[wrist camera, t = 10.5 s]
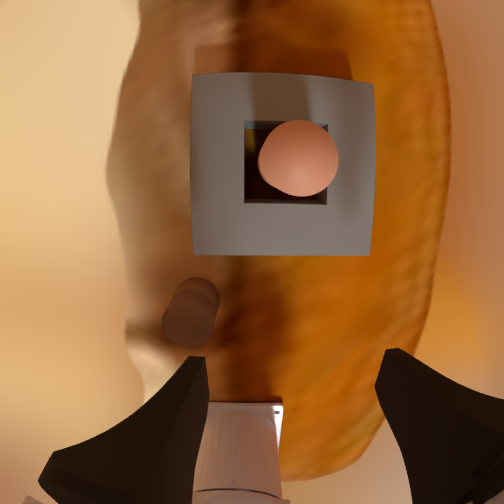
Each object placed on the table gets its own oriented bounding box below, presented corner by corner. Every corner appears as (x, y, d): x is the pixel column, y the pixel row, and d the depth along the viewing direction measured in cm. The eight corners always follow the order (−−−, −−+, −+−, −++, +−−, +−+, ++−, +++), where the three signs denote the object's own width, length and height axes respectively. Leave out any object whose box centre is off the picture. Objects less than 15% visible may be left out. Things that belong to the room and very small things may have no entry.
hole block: (352, 242, 18) (369, 255, 16) (201, 241, 18) (193, 255, 16) (355, 95, 16) (373, 84, 13) (201, 89, 16) (192, 74, 13)
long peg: (304, 188, 18) (337, 197, 11) (256, 187, 17) (261, 195, 11) (304, 141, 17) (338, 123, 10) (256, 139, 17) (261, 118, 10)
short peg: (220, 317, 20) (214, 348, 16) (179, 316, 20) (165, 346, 16) (218, 277, 19) (210, 304, 15) (175, 277, 19) (158, 302, 15)
